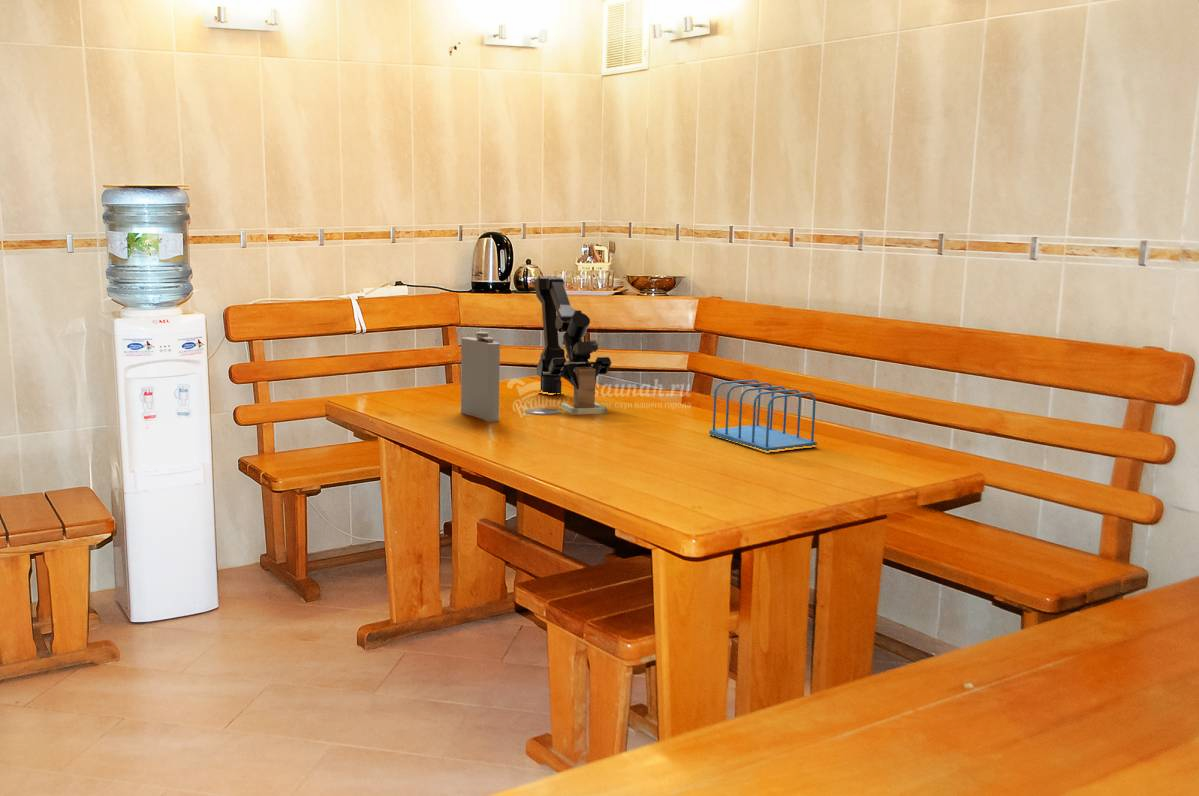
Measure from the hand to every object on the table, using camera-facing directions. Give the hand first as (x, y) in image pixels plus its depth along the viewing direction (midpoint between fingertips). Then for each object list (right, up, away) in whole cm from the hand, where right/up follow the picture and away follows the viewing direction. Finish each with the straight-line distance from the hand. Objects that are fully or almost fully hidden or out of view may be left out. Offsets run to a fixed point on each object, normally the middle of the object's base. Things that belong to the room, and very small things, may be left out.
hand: (586, 388), depth 335 cm
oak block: (-1, -7, +2) cm, 7 cm away
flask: (-31, -9, -9) cm, 33 cm away
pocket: (-1, -7, +3) cm, 8 cm away
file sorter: (+48, -15, -34) cm, 61 cm away
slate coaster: (-13, -8, -1) cm, 15 cm away
